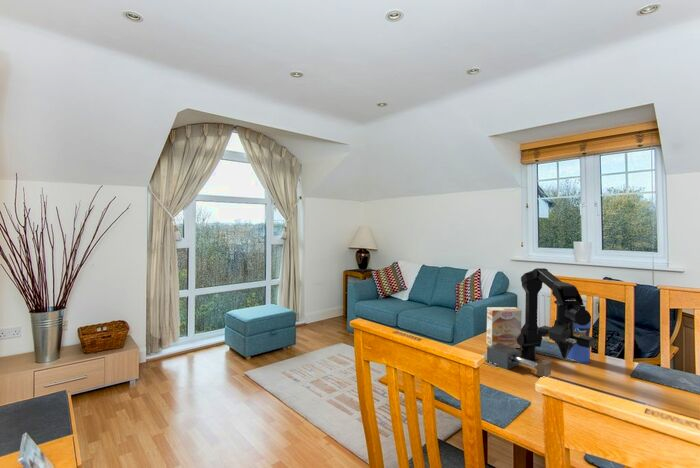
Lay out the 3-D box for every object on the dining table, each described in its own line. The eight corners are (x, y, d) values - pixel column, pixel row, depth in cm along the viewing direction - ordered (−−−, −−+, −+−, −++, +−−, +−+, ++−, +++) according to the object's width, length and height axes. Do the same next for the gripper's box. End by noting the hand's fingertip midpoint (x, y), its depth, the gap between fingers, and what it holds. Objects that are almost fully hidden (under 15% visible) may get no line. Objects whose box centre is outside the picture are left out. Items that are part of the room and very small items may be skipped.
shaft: (509, 360, 156) (509, 348, 156) (550, 374, 141) (550, 362, 140) (502, 362, 153) (502, 351, 153) (544, 377, 138) (544, 365, 138)
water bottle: (565, 354, 166) (566, 302, 166) (589, 358, 162) (590, 304, 161) (566, 361, 158) (567, 306, 158) (591, 365, 154) (592, 308, 153)
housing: (499, 357, 162) (499, 343, 162) (519, 364, 154) (519, 349, 154) (486, 361, 157) (487, 346, 157) (507, 369, 149) (507, 353, 149)
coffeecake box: (491, 349, 174) (492, 310, 173) (486, 344, 181) (486, 306, 180) (521, 348, 174) (522, 310, 173) (514, 343, 181) (515, 306, 181)
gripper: (529, 315, 137) (529, 354, 137) (582, 327, 121) (581, 371, 121) (544, 311, 143) (544, 349, 143) (596, 322, 127) (595, 364, 128)
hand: (564, 358), depth 134 cm, fingers closed
